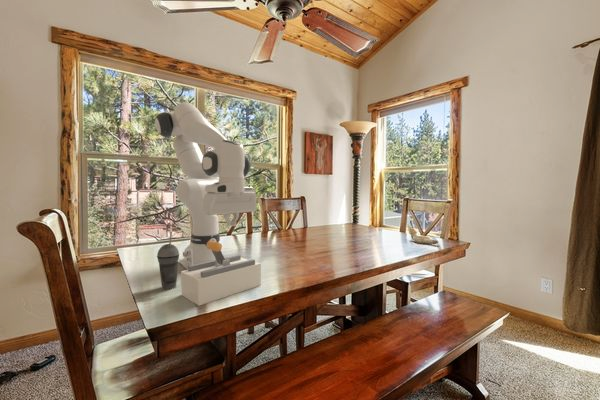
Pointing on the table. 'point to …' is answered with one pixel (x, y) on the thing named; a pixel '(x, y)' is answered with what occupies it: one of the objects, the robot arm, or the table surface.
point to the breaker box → (219, 282)
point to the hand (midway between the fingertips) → (231, 225)
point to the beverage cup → (168, 264)
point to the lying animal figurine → (420, 237)
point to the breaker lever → (216, 250)
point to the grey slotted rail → (220, 269)
